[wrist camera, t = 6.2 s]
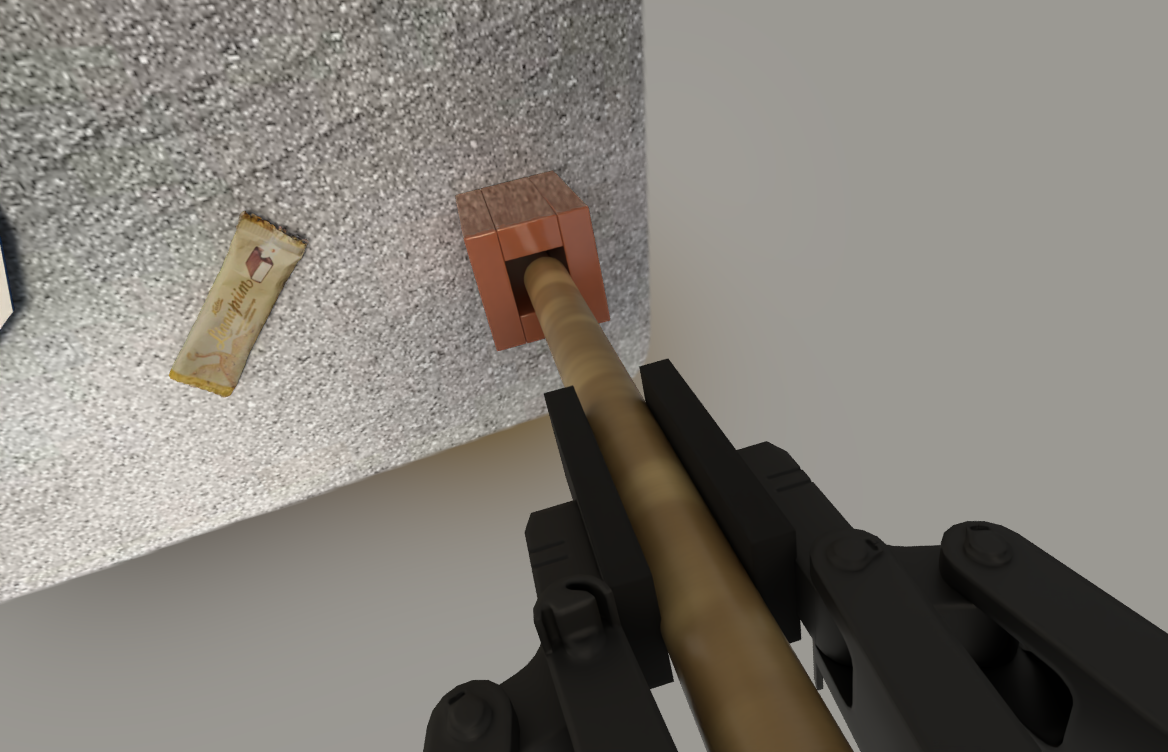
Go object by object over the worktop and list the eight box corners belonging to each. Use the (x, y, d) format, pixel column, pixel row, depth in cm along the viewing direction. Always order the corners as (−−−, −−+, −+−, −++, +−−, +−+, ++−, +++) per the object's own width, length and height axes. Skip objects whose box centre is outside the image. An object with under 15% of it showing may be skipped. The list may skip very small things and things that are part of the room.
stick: (562, 251, 26) (865, 735, 8) (571, 292, 27) (863, 811, 9) (518, 262, 26) (729, 781, 8) (529, 303, 27) (739, 855, 9)
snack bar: (232, 400, 33) (166, 387, 31) (229, 383, 34) (165, 370, 32) (312, 242, 31) (245, 217, 29) (306, 228, 32) (242, 203, 30)
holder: (553, 170, 32) (588, 205, 26) (573, 264, 35) (611, 320, 28) (454, 195, 32) (463, 238, 25) (482, 288, 34) (497, 352, 27)
